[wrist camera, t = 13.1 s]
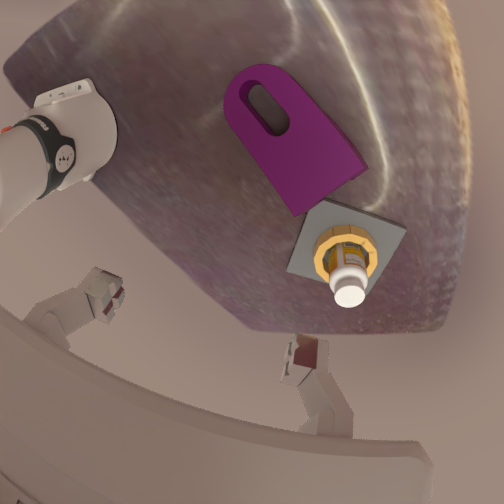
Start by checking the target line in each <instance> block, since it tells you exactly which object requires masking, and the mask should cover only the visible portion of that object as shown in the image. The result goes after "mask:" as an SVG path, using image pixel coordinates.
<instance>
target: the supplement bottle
mask: <svg viewBox="0 0 504 504" xmlns="http://www.w3.org/2000/svg"><path fill="white" fill-rule="evenodd" d="M328 258H329V285H330V288H331V290H332V291H333V292H334V296H335V301H336V302H337V304H339V305H340V306H343V307H354V306H357V305H359V304H360V303H361V302H362V301H363V300H364V298H365V288H366V287H367V284H368V276H367V271H366V266H365V260H364V255H363V250H362V247H361V245H360V244H357V243H354V242H351V241H348V242H341V243H336V244H335V245H333V246H332V247H330V249H329V254H328Z"/></svg>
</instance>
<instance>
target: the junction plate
mask: <svg viewBox="0 0 504 504" xmlns="http://www.w3.org/2000/svg"><path fill="white" fill-rule="evenodd" d="M406 231H407V229H406V227H405V226H403V225H400V224H397V223H395V222H392V221H390V220H387V219H384V218H382V217H379V216H376V215H374V214H371V213H368V212H365V211H362V210H360V209H357V208H354V207H351V206H348V205H345V204H342V203H339V202H336V201H333V200H330V199H327V198H324V200H323V201H322V202H320V203H319V204H318V205H316V206H315V207H313V208H312V209H310V210H309V211H308V212H307V215H306V217H305V220H304V223H303V226H302V228H301V231H300V234H299V236H298V239H297V242H296V244H295V247H294V250H293V252H292V255H291V258H290V260H289V263H288V265H287V269H286V271H287V272H290V273H293V274H297V275H300V276H304V277H307V278H311V279H314V280H318V281H321V282H325V283H328V284H329V258H328V254H329V249H330V247H332V246H333V245H335V244H336V243H341V242H348V241H351V242H354V243H357V244H360V245H361V247H362V250H363V255H364V260H365V266H366V271H367V276H368V284H367V287H366V288H365V294H367V295H368V293H369V292H370V290H371V289H372V287H373V286H374V284H375V282H376V281H377V279H378V278H379V276H380V275H381V273H382V271H383V270H384V268H385V267H386V265H387V263H388V262H389V260H390V258H391V257H392V255H393V253H394V252H395V250H396V248H397V246H398V245H399V243H400V241H401V239H402V238H403V236H404V234H405V232H406Z"/></svg>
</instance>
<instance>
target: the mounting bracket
mask: <svg viewBox="0 0 504 504" xmlns="http://www.w3.org/2000/svg"><path fill="white" fill-rule="evenodd" d="M257 84H262V85H263V87H264V88H265V89H266V90H267V91H268V92H269V93H270V94H271V96H272V97H273V98H274V99H275V100H276V101H277V102H278V104H279V105H280V106H281V107H282V108H283V110H284V111H285V112H286V113H287V114H288V116H289V119H290V126H289V129H288V130H287V132H286V133H285V134H283V135H281V136H275V135H274V133H273V132H272V131H271V130H270V128H269V127H268V126H267V124H266V123H265V122H264V121H263V119H262V118H261V117H260V116H259V114H258V113H257V112H256V111H255V110H254V108H253V107H252V106H251V105H250V103H249V102H248V98H247V96H248V92H249V90H250V89H251V88H252V87H253V86H255V85H257ZM224 114H225V117H226V120H227V122H228V124H229V125H230V127H231V128H232V129H233V131H234V132H235V133H236V135H237V136H238V137H239V139H240V140H241V141H242V143H243V144H244V145H245V147H246V148H247V150H248V151H249V152H250V154H251V155H252V156H253V158H254V159H255V161H256V162H257V163H258V165H259V166H260V168H261V169H262V171H263V172H264V173H265V175H266V176H267V178H268V179H269V180H270V182H271V183H272V185H273V186H274V188H275V189H276V191H277V192H278V194H279V195H280V196H281V198H282V199H283V201H284V202H285V204H286V205H287V207H288V208H289V210H290V211H291V213H292V214H293V216H294V217H295V216H298V215H300V214H303V213H305V212H308V211H309V210H310V209H312V208H313V207H315V206H316V205H318V204H319V203H320V202H322V201H323V200H324V197H326V196H327V195H329V194H330V193H331V192H333V191H334V190H336V189H337V188H339V187H340V186H341V185H343V184H344V183H346V182H347V181H348V180H353V179H355V178H356V177H357V176H359V175H360V174H362V173H363V172H365V171H366V170H367V169H369V168H368V166H367V164H366V162H365V161H364V159H363V158H362V156H361V155H360V153H359V152H358V150H357V149H356V148H355V146H354V145H353V144H352V142H351V141H350V140H349V139H348V137H347V136H346V135H345V134H344V132H343V131H342V130H341V129H340V128H339V126H338V125H337V124H336V123H335V122H334V121H333V120H332V119H331V118H330V117H329V116H328V115H327V114H325V113H324V112H323V111H322V110H321V109H320V107H319V106H318V105H317V104H316V103H315V102H314V100H313V99H312V98H311V97H310V96H309V95H308V94H307V93H306V91H305V90H304V89H303V88H302V87H301V86H300V85H299V84H298V83H297V82H296V81H295V80H294V79H293V78H292V77H291V76H290V75H289V74H287V73H286V72H285V71H284V70H282V69H280V68H279V67H276V66H273V65H269V64H259V65H254V66H251V67H248V68H246V69H244V70H243V71H241V72H240V73H239V74H238V75H237V76H236V77H235V78H234V79H233V80H232V81H231V83H230V84H229V86H228V88H227V90H226V93H225V97H224Z"/></svg>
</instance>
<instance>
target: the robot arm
mask: <svg viewBox="0 0 504 504" xmlns="http://www.w3.org/2000/svg"><path fill="white" fill-rule="evenodd" d="M116 141H117V127H116V121H115V118H114V115H113V112H112V110H111V108H110V106H109V105H108V103H107V102H106V101H105V100H104V99H103V98H102V97H101V96H100V95H99V94H98V93H97V91H96V89H95V87H94V84H93V82H92V81H91V80H90V79H89V78H86V79H83V80H79V81H76V82H73V83H70V84H67V85H64V86H61V87H58V88H56V89H53V90H50V91H48V92H45V93H43V94H40V95H38V96H37V98H36V100H35V103H34V108H32V109H29V110H27V111H25V112H24V114H23V116H22V118H21V120H20V121H19V122H18V123H17V124H15V125H14V126H13V127H11V126H10V127H6V128H4V129H2V130H1V134H0V233H1V232H2V230H3V229H4V228H5V226H6V225H7V224H8V223H9V222H10V221H11V220H12V219H13V218H15V216H17V215H18V214H19V213H20V212H21V211H22V210H23V209H25V208H26V207H27V206H28V205H30V203H32V202H33V201H35V200H37V199H41V198H43V197H45V196H47V195H49V194H50V193H52V192H53V191H54V190H55V189H58V190H63V189H65V188H67V187H69V186H70V185H72V184H74V183H76V182H77V181H79V180H83V181H85V182H87V181H89V180H91V179H92V178H93V176H94V174H95V172H96V171H97V170H98V169H99V168H101V167H102V166H104V165H105V164H106V163H107V162H108V161H109V160H110V158H111V157H112V155H113V153H114V150H115V146H116ZM122 284H123V280H122V278H121V277H119V276H116V275H114V274H112V273H109V272H107V271H104V270H102V269H100V268H98V267H94V268H93V269H91V271H90V272H89V273H88V274H87V276H86V277H85V278H84V279H83V280H82V281H81V283H80V284H79V285H78V286H77V288H71V289H69V290H67V291H64V292H62V293H59V294H57V295H55V296H52V297H50V298H48V299H46V300H43V301H41V302H39V303H36V305H35V306H34V307H33V308H32V310H31V311H30V312H29V313H28V315H27V316H26V317H25V319H24V320H23V321H22V320H20V319H19V318H17V317H16V316H15V315H13V314H12V313H11V312H9V311H8V310H7V309H5V308H4V307H3V306H1V305H0V504H431V501H432V493H433V483H434V465H433V462H432V460H431V458H430V457H429V455H428V453H427V452H426V450H425V449H424V447H423V446H422V445H421V444H420V442H418V441H413V440H406V441H389V440H388V441H387V440H364V439H363V440H362V439H352V437H353V417H354V415H353V414H354V413H353V411H352V409H351V408H350V406H349V404H348V402H347V401H346V399H345V397H344V395H343V393H342V392H341V390H340V388H339V386H338V385H337V383H336V381H335V379H334V378H333V376H332V374H331V373H329V372H328V357H329V356H328V355H329V342H328V341H327V340H323V339H319V338H316V337H312V336H308V335H303V334H299V333H295V334H294V336H293V339H292V342H290V343H289V345H288V347H287V349H286V352H285V356H284V361H283V362H284V364H285V366H284V368H283V369H282V374H281V380H280V383H284V384H288V385H292V386H296V387H298V390H299V393H300V395H301V398H302V400H303V403H304V405H305V408H306V410H307V413H308V415H309V418H310V419H309V420H308V421H307V422H305V423H304V424H303V425H301V426H300V427H299V430H298V432H294V431H289V430H284V429H278V428H273V427H269V426H264V425H259V424H255V423H251V422H247V421H242V420H239V419H234V418H231V417H228V416H224V415H220V414H217V413H213V412H210V411H207V410H204V409H201V408H197V407H194V406H191V405H188V404H185V403H182V402H180V401H177V400H174V399H171V398H169V397H166V396H164V395H161V394H158V393H156V392H153V391H151V390H148V389H146V388H144V387H141V386H139V385H137V384H134V383H132V382H130V381H127V380H125V379H123V378H121V377H119V376H117V375H114V374H112V373H110V372H108V371H106V370H104V369H102V368H100V367H98V366H96V365H94V364H92V363H90V362H88V361H86V360H85V359H83V358H81V357H79V356H78V355H76V354H74V353H72V352H70V351H69V348H70V343H69V342H68V339H67V337H66V336H68V335H69V334H71V333H73V332H74V331H76V330H77V329H79V328H81V327H82V326H84V325H86V324H87V323H89V322H91V321H92V320H94V318H95V319H97V320H99V321H102V322H104V323H106V324H109V323H110V321H111V320H112V318H113V317H114V315H115V309H118V308H119V307H120V306H121V305H122V303H123V300H124V297H125V291H124V289H123V287H122V286H121V285H122Z"/></svg>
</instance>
